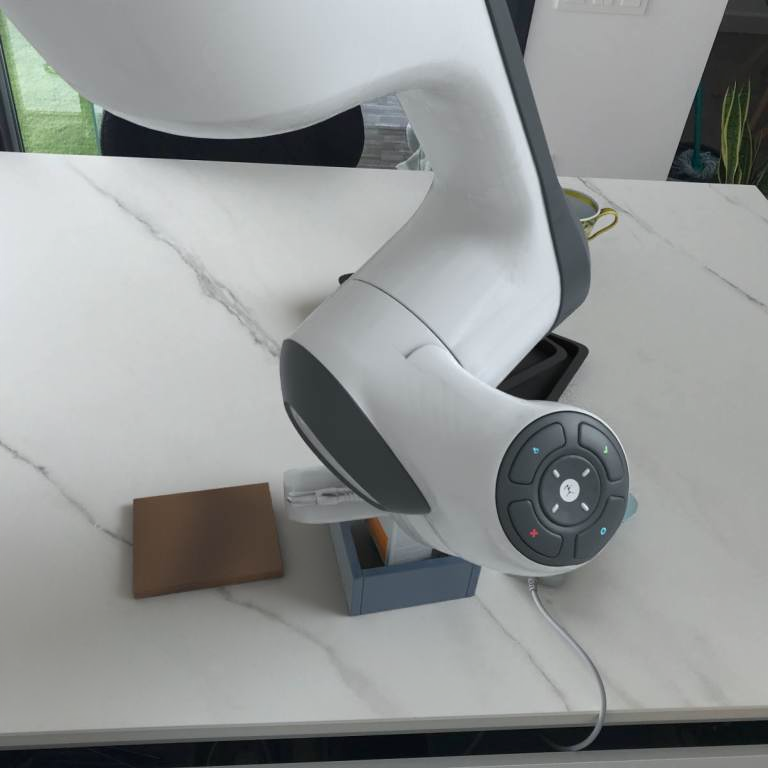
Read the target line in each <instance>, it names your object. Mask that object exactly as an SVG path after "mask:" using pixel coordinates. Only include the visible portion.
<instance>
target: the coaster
mask: <svg viewBox="0 0 768 768" xmlns="http://www.w3.org/2000/svg"><path fill="white" fill-rule="evenodd" d="M276 523H277V522H276V518H275V512H274V506H273V499H272V495H271V489H270V483H269V482H259V483H250V484H243V485H234V486H227V487H225V486H224V487H218V488H210V489H202V490H194V491H187V492H186V491H184V492H177V493H170V494H162V495H160V494H159V495H154V496H153V495H152V496H144V497H137V498H133V499H132V595H133V599H134V600H137V599H144V598H151V597H157V596H165V595H172V594H178V593H184V592H190V591H198V590H204V589H211V588H217V587H223V586H231V585H237V584H245V583H250V582H257V581H263V580H269V579H270V580H271V579H277V578H283V577H284V571H285V570H284V565H283V558H282V551H281V546H280V542H279V541H280V540H279V535H278V529H277V524H276Z"/></svg>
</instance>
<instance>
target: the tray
mask: <svg viewBox="0 0 768 768" xmlns="http://www.w3.org/2000/svg"><path fill="white" fill-rule="evenodd" d="M354 273H355V272H349V273H344V274H342V275H340V276H339V277H338V279H337V280H338V284H339V286H340V285H341V284H343V283H344V282H345V281H346V280H348V279H349V278H350V277H351V276H352V275H353V274H354ZM589 354H590V349H589V348H588V347H587V346H586V345H585V344H583V343H581V342H578V341H576V340H573V339H571V338H568V337H565V336H562V335H559V334H557V333H555V332H553V331H552V332H551V333H550V334H549V335H548V336H546V337H545V338H544V339H543V340H541V341H540V342H538V343H537V344H536V345H535V346H534V347H533V348H532V349H531V351H530V352H529V353H528V354H527V355H526V356H525V357H524V358H523V359H522V360H521V361H520V362H519V364H518V365H517V366H516V367H515V368H514V369H513V370H512V371H511V372H510V373H509V374H508V375H507V377H506V378H505V379H504V380H503V381H502V382H501V383H500V384H499V385H498V386H497V387H496V389H498V390H500V391H502V392H504V393H506V394H509V395H511V396H514V397H517V398H521V399H525V400H541V401H553V402H559V399H560V398H561V397H562V396H563V394H564V392H565V391H566V389H567V388H568V386H569V385H570V383H571V382H572V380H573V379H574V378H575V376H576V374H577V373H578V371H579V370H580V368H581V367H582V365H583V363H584V362H585V361H586V359H587V357H589Z"/></svg>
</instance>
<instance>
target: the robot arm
mask: <svg viewBox="0 0 768 768" xmlns="http://www.w3.org/2000/svg"><path fill="white" fill-rule="evenodd" d="M0 11H1V12H2V13H3V14H4V16H5V17H6V18H7V20H9V21H10V22H11V24H12V25H13V26H14V27H15V29H16V30H17V31H18V33H20V35H21V36H23V37H24V39H25V40H26V41H27V43H28V44H29V45H31V47H32V48H33V49H34V50H35V51H36V53H37V54H38V55H39V56H40V57H41V58H42V59H43V60H44V61H45V62H46V63H47V64H48V66H49V67H51V69H53V70H54V71H55V73H56V74H57V75H58V76H59V77H60V78H61V79H62V80H63V81H64V82H65V83H67V85H68V86H69V87H70V88H71V89H72V90H73V91H75V92H76V93H77V94H78V95H79V96H81V97H83V98H84V99H85V100H87V101H89V102H90V103H91V104H94V105H95V106H97V107H99V108H101V109H102V110H105V111H106V112H108V113H110V114H112V115H113V116H116V117H118V118H121V119H123V120H126V121H128V122H130V123H133V124H136V125H138V126H140V127H145V128H147V129H149V130H150V129H151V130H154V131H159V132H162V133H166V134H171V135H176V136H182V137H190V138H198V139H217V140H223V139H224V140H237V139H253V138H263V137H268V136H275V135H281V134H286V133H291V132H295V131H298V130H302V129H305V128H308V127H311V126H314V125H316V124H318V123H322V122H324V121H326V120H329V119H331V118H333V117H335V116H337V115H339V114H342V113H344V112H346V111H348V110H351V109H353V108H355V107H357V106H359V105H364V104H366V103H369V102H372V101H375V100H377V99H379V98H383V97H386V96H391V95H394V96H395V98H396V100H397V102H398V104H399V106H400V108H401V109H402V112H403V115H404V116H405V117H406V120H407V122H408V124H409V126H410V127H411V130H412V132H413V134H414V136H415V138H416V140H417V142H418V144H419V146H420V148H421V150H422V151H423V154H424V155H425V158H426V160H427V162H428V164H429V166H430V167H431V170H432V172H433V179H432V181H431V184H430V186H429V189H428V191H427V193H426V194H425V196H424V197H423V199H422V202H420V205H418V208H417V209H416V210H415V211H414V213H413V215H411V216H410V217H409V219H408V220H407V222H406V223H405V224H404V225H402V227H400V228H399V229H398V230H397V231H396V232H395V233H394V234H393V235H392V236H391V237H390V238H389V239H387V241H385V243H384V244H383V245H382V246H381V247H380V248H378V250H377V251H376V252H375V253H373V255H371V256H370V257H369V258H368V259H367V260H366V261H365V262H364V263H363V264H362V265H361V266H360V267H359V268H357V270H356V271H355V272H353V273H354V274H353V275H352V276H351V277H350V278H349V279H348V280H346V281H345V282H344V283H343V284H341V285H340V284H339V286H338V287H337V288H336V289H335V290H334V291H333V292H332V293H331V294H330V295H329V296H327V297H326V299H325V300H323V301H322V302H321V303H320V304H319V305H318V306H317V307H316V308H315V309H314V310H313V311H312V312H311V313H310V314H309V315H308V316H307V317H306V318H305V319H304V320H303V321H302V322H301V323H300V324H299V325H298V326H297V327H296V328H295V329H294V330H293V331H292V332H291V333H290V334H289V335H288V336H287V338H285V339H283V341H282V344H281V347H280V352H279V364H278V366H279V368H278V369H279V382H280V391H281V396H282V402H283V407H284V410H285V412H286V415H287V417H288V419H289V421H290V423H291V424H292V426H293V427H294V429H295V430H296V433H297V434H298V436H299V437H300V439H302V441H303V442H304V443H305V445H306V446H307V447H308V448H309V449H310V451H311V452H312V454H314V456H315V457H316V458H317V459H318V461H320V462H321V463H322V464H320V465H311V466H303V467H302V466H301V467H294V468H290V469H287V470H285V471H284V472H283V474H282V486H283V496H284V497H283V498H284V506H285V513H286V516H287V518H288V519H289V520H290V521H292V522H296V523H301V524H312V525H313V524H314V525H315V524H328V523H336V522H344V521H349V522H351V521H358V520H364V519H367V518H375V517H383V516H390V515H391V516H392V517H393V519H394V521H395V522H396V523H397V525H398V526H399V527H400V528H401V529H402V530H403V531H404V532H405V533H406V534H407V535H408V536H409V537H410V538H412V539H414V540H415V541H417V542H419V543H421V544H423V545H425V546H428V547H430V548H433V549H432V550H436V551H438V552H440V553H441V552H442V553H444V554H446V555H449V556H450V555H452V556H456V557H461V558H463V559H464V560H466V561H469V562H471V563H473V564H476V565H479V566H482V567H481V568H485V569H488V570H492V571H496V572H499V573H504V574H507V575H514V576H522V577H534V578H535V577H538V578H539V577H542V578H543V577H553V576H557V575H562V574H565V573H569V572H572V571H574V570H577V569H579V568H581V567H583V566H585V565H587V564H588V563H590V562H591V561H592V560H594V559H595V558H596V557H597V556H598V555H599V554H601V553H602V552H603V550H604V549H605V548H606V547H607V546H608V545H609V543H610V542H611V540H612V539H613V537H615V535H616V533H617V532H618V529H619V528H620V526H621V525H622V523H623V522H622V520H623V518H624V515H625V511H626V508H627V504H628V498H629V493H630V489H631V486H630V485H631V476H630V467H629V462H628V457H627V454H626V451H625V449H624V446H623V444H622V441H621V440H620V438H619V437H618V436H617V434H616V432H615V431H614V430H613V429H612V427H611V426H609V424H608V423H607V422H606V421H604V420H603V419H602V418H601V417H599V416H597V415H596V414H594V413H592V412H591V411H588V410H586V409H584V408H582V407H579V406H576V405H572V404H569V403H564V402H559V401H557V402H553V401H541V400H525V399H521V398H517V397H514V396H511V395H509V394H506V393H504V392H502V391H500V390H498V389H496V387H497V386H498V385H499V384H500V383H501V382H502V381H503V380H504V379H505V378H506V377H507V375H508V374H509V373H510V372H511V371H512V370H513V369H514V368H515V367H516V366H517V365H518V364H519V362H520V361H521V360H522V359H523V358H524V357H525V356H526V355H527V354H528V353H529V352H530V351H531V349H532V348H533V347H534V346H535V345H536V344H537V343H538V342H540V341H541V340H543V339H544V338H545V337H546V336H548V335H549V334H550V333H551V332H552V333H553V331H554V330H556V329H557V328H558V327H559V326H561V324H563V322H565V320H567V318H569V317H570V316H571V315H572V314H573V313H574V312H575V311H576V310H578V308H580V307H581V306H582V305H583V304H584V302H585V301H586V299H587V297H588V295H589V293H590V289H591V280H592V275H591V273H592V262H591V251H590V245H589V242H588V240H587V237H586V234H585V231H584V228H583V226H582V223H581V221H580V219H579V217H578V215H577V213H576V211H575V209H574V208H573V206H572V204H571V203H570V201H569V199H568V198H567V196H566V194H565V193H564V191H563V189H562V187H561V186H562V185H561V183H560V181H559V178H558V175H557V172H556V168H555V165H554V163H553V158H552V155H551V151H550V148H549V145H548V141H547V136H546V134H545V131H544V127H543V124H542V119H541V115H540V113H539V109H538V106H537V102H536V99H535V95H534V91H533V88H532V85H531V81H530V78H529V74H528V71H527V67H526V64H525V61H524V57H523V54H522V50H521V47H520V43H519V40H518V35H517V33H516V30H515V26H514V24H513V19H512V15H511V13H510V10H509V7H508V4H507V1H506V0H0ZM621 522H622V523H621Z"/></svg>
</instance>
